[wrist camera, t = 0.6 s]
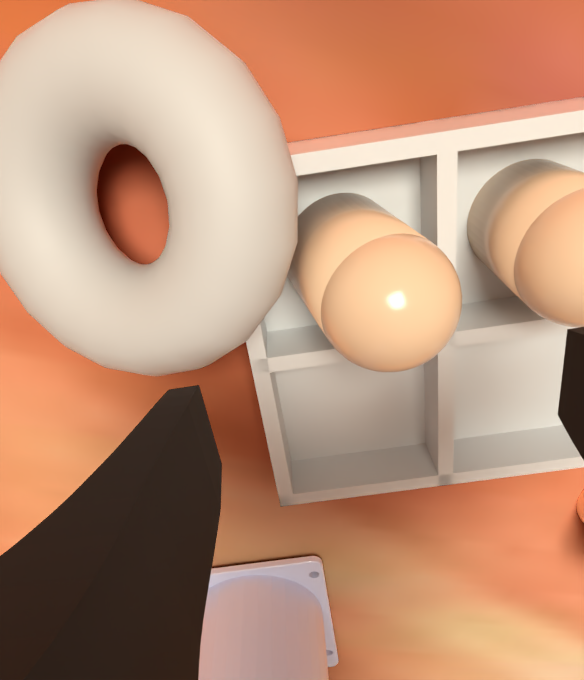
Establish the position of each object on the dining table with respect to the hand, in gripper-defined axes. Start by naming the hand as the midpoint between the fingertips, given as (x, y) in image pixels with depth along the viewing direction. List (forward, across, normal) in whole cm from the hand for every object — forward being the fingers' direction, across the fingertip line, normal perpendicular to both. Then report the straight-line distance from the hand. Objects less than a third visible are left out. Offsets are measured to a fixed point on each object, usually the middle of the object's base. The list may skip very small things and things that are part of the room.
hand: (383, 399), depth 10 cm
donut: (+8, +8, -7) cm, 14 cm away
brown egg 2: (+9, -7, 0) cm, 11 cm away
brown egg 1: (+9, 0, 0) cm, 9 cm away
